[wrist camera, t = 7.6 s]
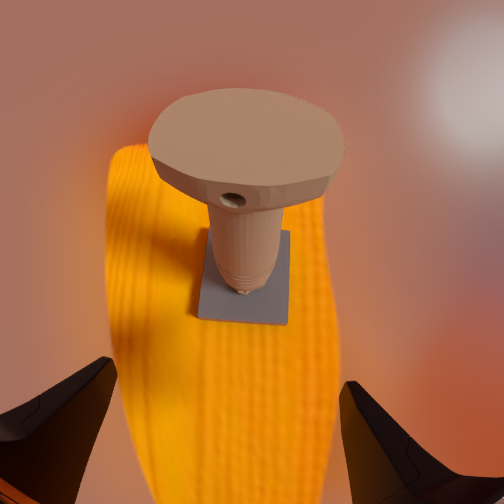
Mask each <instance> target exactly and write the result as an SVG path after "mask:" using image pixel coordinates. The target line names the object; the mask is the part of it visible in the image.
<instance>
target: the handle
mask: <svg viewBox="0 0 504 504" xmlns="http://www.w3.org/2000/svg"><path fill="white" fill-rule="evenodd" d="M148 148H149V152H150V155H151V158H152V160H153V163H154V166H155V168H156V170H157V173H158V175H159V176H160V178H161V179H162V180H164V181H165V182H167V183H168V184H170V185H171V186H173V187H174V188H176V189H178V190H179V191H181V192H183V193H184V194H186V195H188V196H190V197H192V198H194V199H196V200H198V201H200V202H203V203H205V204H207V205H208V213H209V220H210V229H211V238H212V248H213V253H214V258H215V261H216V264H217V267H218V269H219V271H220V273H221V275H222V277H223V278H224V280H225V282H226V283H227V284H228V285H230V286H231V287H233V288H234V289H236V290H237V292H238V294H240V295H248V293H249V292H251V291H253V290H256V289H262V288H263V286H264V285H265V283H266V280H267V279H268V278H269V276H270V274H271V273H272V271H273V269H274V266H275V263H276V260H277V256H278V251H279V243H280V233H281V224H282V216H283V209H284V207H289V206H293V205H297V204H300V203H304V202H307V201H310V200H313V199H316V198H320V197H321V196H322V195H323V194H324V193H325V192H326V191H327V190H328V188H329V187H330V185H331V184H332V182H333V181H334V179H335V177H336V175H337V172H338V170H339V167H340V165H341V163H342V160H343V156H344V151H345V150H344V148H345V144H344V138H343V134H342V130H341V128H340V126H339V125H338V122H337V121H336V120H335V119H334V117H333V116H332V115H330V113H329V112H328V111H326V110H325V109H323V108H320V107H318V106H316V105H314V104H311V103H309V102H307V101H304V100H302V99H299V98H296V97H294V96H291V95H287V94H284V93H279V92H274V91H268V90H258V89H245V88H227V89H218V90H212V91H207V92H202V93H198V94H193V95H189V96H185V97H182V98H180V99H179V100H177V101H175V102H174V103H172V104H171V105H170V106H168V107H167V108H166V109H165V110H164V111H163V112H162V113H161V114H160V115H159V117H158V118H157V120H156V121H155V123H154V124H153V127H152V129H151V131H150V134H149V139H148Z"/></svg>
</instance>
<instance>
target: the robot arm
mask: <svg viewBox="0 0 504 504" xmlns="http://www.w3.org/2000/svg"><path fill="white" fill-rule="evenodd" d="M116 379H117V370H116V367H115V364H114V362H113V360H112V358H109V357H105V356H103V357H100V358H99V359H98V360H96V361H94V362H92V363H91V364H89V365H87V366H86V367H84V368H83V369H81V370H79V371H78V372H76V373H74V374H73V375H72V376H70V377H68V378H66V379H65V380H63V381H61V382H60V383H58V384H56V385H55V386H53V387H52V388H50V389H48V390H47V391H45V392H43V393H42V394H41V395H38V396H37V397H35V398H33V399H31V400H30V401H28V402H26V403H24V404H22V405H20V406H18V407H16V408H14V409H11V410H9V411H7V412H5V413H3V414H0V504H75V501H76V497H77V494H78V491H79V488H80V483H81V481H82V477H83V475H84V472H85V468H86V465H87V463H88V460H89V457H90V454H91V451H92V448H93V446H94V443H95V441H96V438H97V435H98V432H99V430H100V427H101V425H102V422H103V420H104V417H105V415H106V412H107V410H108V406H109V404H110V400H111V397H112V393H113V390H114V386H115V383H116ZM339 406H340V419H341V434H342V440H343V445H344V451H345V457H346V463H347V469H348V475H349V481H350V489H351V495H352V503H353V504H504V477H499V478H495V477H494V478H493V477H475V476H464V475H459V474H457V473H455V472H453V471H451V470H450V469H448V468H447V467H446V466H444V465H443V464H442V463H441V462H439V461H438V460H437V459H435V458H434V457H433V456H431V455H430V454H429V453H428V452H427V451H425V450H424V449H423V448H422V447H421V446H420V445H419V444H418V443H417V442H416V441H415V440H414V439H413V438H412V437H410V435H409V434H407V432H406V431H405V430H404V429H403V428H402V427H401V426H400V425H399V424H398V423H397V422H396V421H395V420H394V419H393V418H392V417H391V416H390V415H389V414H388V413H387V412H386V411H385V410H384V409H383V408H382V407H381V406H380V405H379V404H378V403H377V402H376V401H375V400H374V399H373V398H372V397H371V396H370V395H369V394H368V392H366V391H365V389H364V388H362V386H361V385H360V384H359V383H357V381H346V382H345V384H344V386H343V388H342V390H341V393H340V395H339Z"/></svg>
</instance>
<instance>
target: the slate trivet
mask: <svg viewBox="0 0 504 504" xmlns="http://www.w3.org/2000/svg"><path fill="white" fill-rule="evenodd" d="M289 267H290V231H285V230H281V233H280V243H279V251H278V256H277V260H276V263H275V266H274V269H273V271H272V273H271V274H270V276H269V278H268V279H267V280H266V283H265V285H264V286H263V288H262V289H256V290H253V291H251V292H249V293H248V295H240V294H238V292H237V290H236V289H234V288H233V287H231V286H230V285H228V284H227V283H226V282H225V280H224V278H223V277H222V275H221V273H220V271H219V269H218V267H217V264H216V261H215V258H214V253H213V248H212V238H211V229H210V227H209V234H208V240H207V247H206V254H205V261H204V268H203V276H202V283H201V291H200V299H199V307H198V316H197V317H198V318H199V319H201V320H211V321H222V322H233V323H246V324H260V325H278V326H286V325H287V324H288V301H289Z"/></svg>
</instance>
